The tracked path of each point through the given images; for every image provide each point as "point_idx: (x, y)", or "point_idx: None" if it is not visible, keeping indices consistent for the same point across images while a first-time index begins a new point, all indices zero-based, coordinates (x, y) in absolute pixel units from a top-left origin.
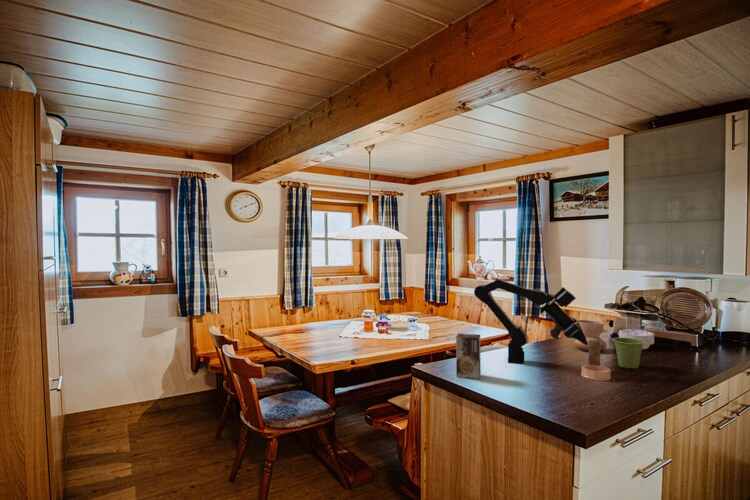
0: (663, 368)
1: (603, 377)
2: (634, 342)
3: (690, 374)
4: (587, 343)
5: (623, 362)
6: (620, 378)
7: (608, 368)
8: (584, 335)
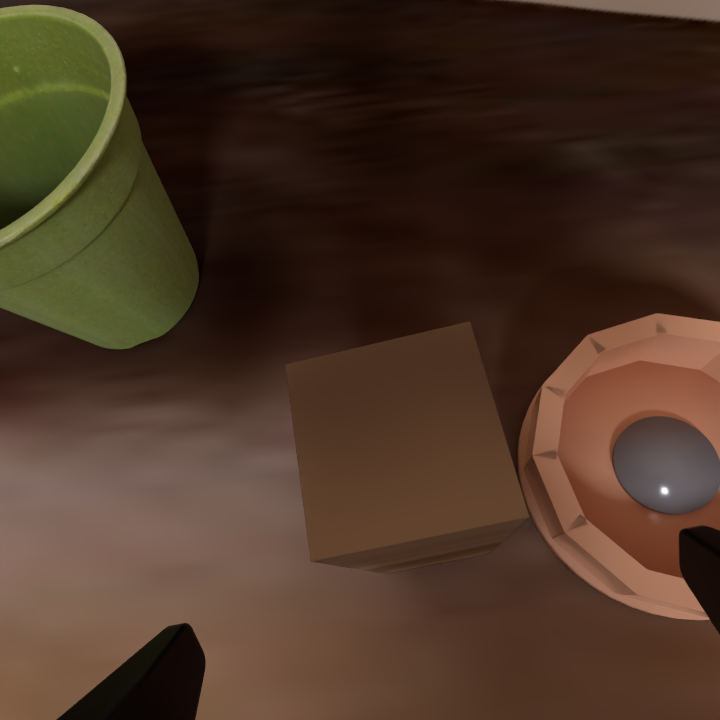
0: None
1: None
2: None
3: (175, 24)
4: (717, 536)
5: (174, 290)
6: (549, 289)
7: (593, 337)
8: (140, 686)
